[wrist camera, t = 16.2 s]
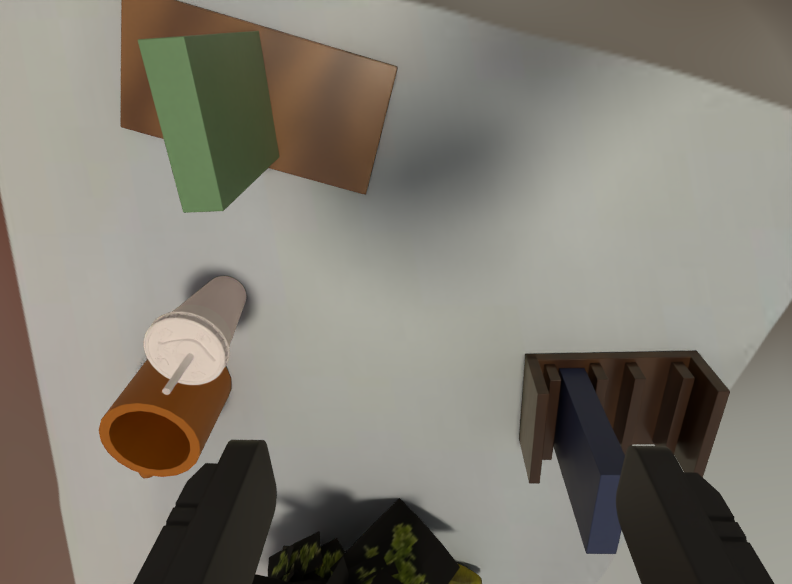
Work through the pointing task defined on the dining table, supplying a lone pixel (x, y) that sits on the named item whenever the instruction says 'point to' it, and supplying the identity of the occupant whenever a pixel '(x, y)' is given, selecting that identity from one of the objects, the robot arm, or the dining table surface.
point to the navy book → (588, 461)
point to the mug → (162, 422)
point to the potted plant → (371, 557)
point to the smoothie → (196, 334)
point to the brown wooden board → (276, 91)
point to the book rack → (629, 402)
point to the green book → (212, 113)
